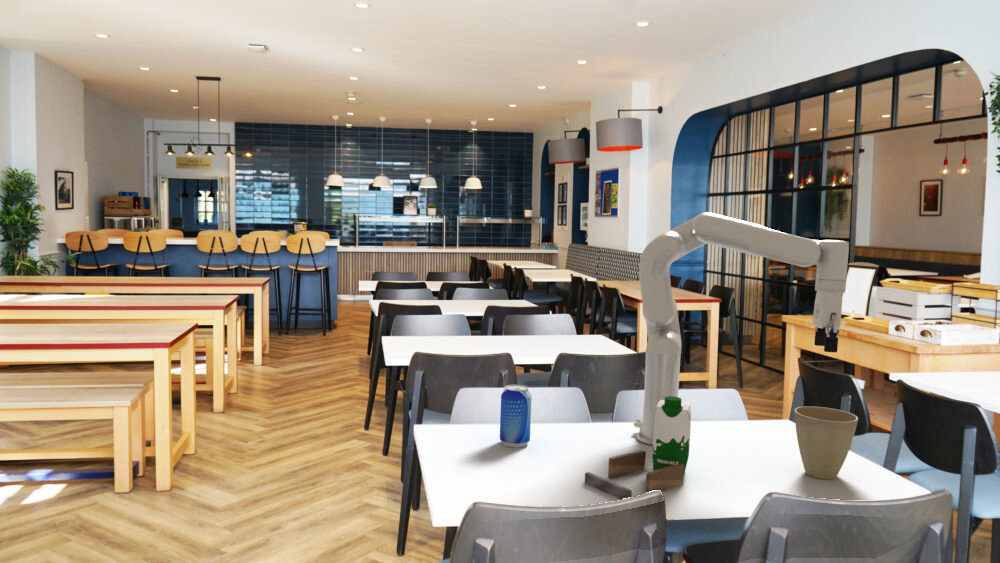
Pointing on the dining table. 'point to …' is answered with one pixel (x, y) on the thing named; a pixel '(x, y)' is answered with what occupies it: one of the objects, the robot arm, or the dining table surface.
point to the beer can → (515, 416)
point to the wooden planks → (633, 464)
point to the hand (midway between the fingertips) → (825, 348)
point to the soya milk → (671, 433)
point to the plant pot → (824, 439)
